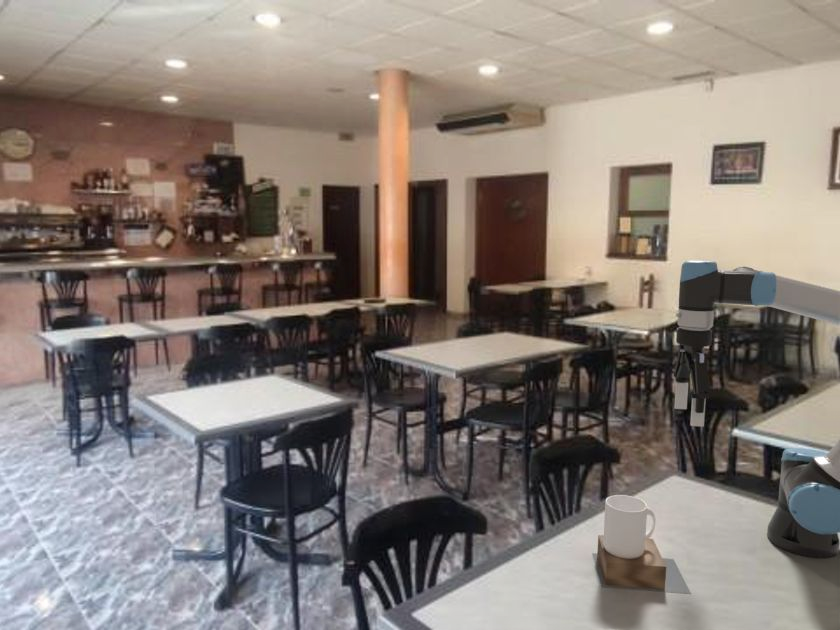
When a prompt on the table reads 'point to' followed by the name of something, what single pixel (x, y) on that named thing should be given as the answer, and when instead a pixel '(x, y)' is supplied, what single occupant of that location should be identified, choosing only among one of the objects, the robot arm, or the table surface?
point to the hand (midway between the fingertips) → (688, 417)
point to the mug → (626, 526)
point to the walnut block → (633, 567)
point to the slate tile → (672, 584)
